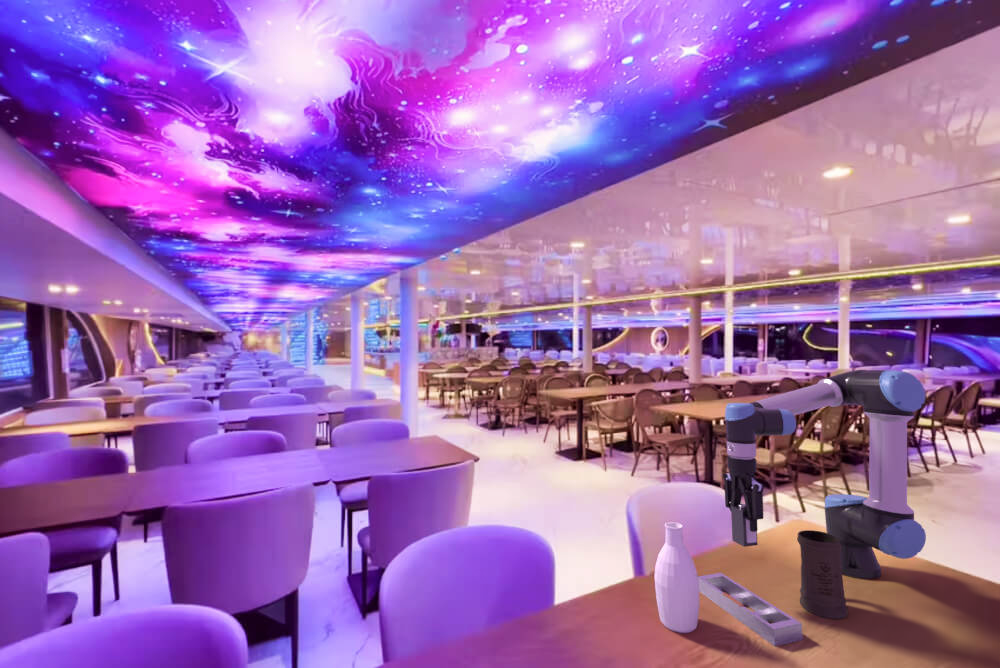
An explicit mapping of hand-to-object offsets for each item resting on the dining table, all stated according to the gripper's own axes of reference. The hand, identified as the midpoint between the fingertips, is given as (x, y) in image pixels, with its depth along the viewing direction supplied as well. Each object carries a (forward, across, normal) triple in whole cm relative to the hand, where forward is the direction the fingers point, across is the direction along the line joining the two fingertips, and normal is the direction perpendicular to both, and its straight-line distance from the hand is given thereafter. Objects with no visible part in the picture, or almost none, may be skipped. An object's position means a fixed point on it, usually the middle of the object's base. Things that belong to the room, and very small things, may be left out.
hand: (744, 538), depth 129 cm
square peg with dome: (+1, 0, 0) cm, 1 cm away
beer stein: (+17, +6, +18) cm, 26 cm away
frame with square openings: (+18, +5, -5) cm, 19 cm away
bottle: (+18, +4, -25) cm, 31 cm away
